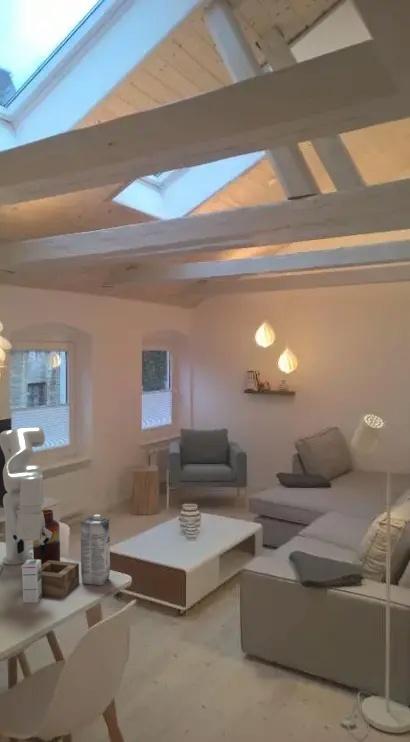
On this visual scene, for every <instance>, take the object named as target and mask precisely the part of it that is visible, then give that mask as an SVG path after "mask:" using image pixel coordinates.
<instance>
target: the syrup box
mask: <svg viewBox="0 0 410 742" xmlns="http://www.w3.org/2000/svg"><path fill="white" fill-rule="evenodd" d="M21 578H22V602H23V603H28V604H29V603H39V601H40V599H41V598H42V596H43V595H42V572H41V560H40V559H33V558H32V559H30V560H26V562H25V563H23V564H21Z"/></svg>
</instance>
